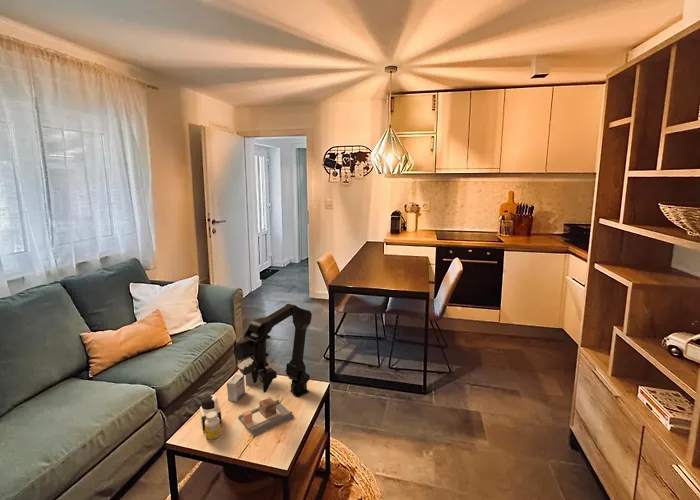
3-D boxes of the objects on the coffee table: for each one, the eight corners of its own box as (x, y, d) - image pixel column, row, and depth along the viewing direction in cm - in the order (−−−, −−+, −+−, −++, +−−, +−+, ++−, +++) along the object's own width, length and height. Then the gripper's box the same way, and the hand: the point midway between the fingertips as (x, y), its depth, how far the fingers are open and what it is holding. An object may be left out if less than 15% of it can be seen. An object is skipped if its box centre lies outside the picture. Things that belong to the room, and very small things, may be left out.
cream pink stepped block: (272, 407, 161) (272, 397, 160) (280, 415, 155) (280, 404, 154) (240, 420, 152) (239, 410, 151) (247, 429, 146) (247, 418, 145)
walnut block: (270, 408, 159) (270, 397, 158) (276, 413, 155) (276, 402, 154) (259, 412, 156) (259, 401, 155) (265, 418, 152) (264, 407, 151)
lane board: (277, 402, 166) (277, 397, 165) (293, 417, 155) (293, 412, 155) (238, 418, 155) (238, 413, 154) (253, 436, 144) (252, 431, 144)
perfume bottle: (251, 378, 186) (249, 344, 183) (264, 379, 185) (263, 344, 182) (246, 385, 180) (244, 350, 177) (259, 386, 179) (257, 351, 176)
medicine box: (236, 401, 166) (235, 384, 165) (227, 400, 167) (226, 382, 166) (245, 392, 174) (244, 375, 172) (236, 391, 175) (235, 374, 173)
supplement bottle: (205, 434, 145) (203, 411, 143) (220, 431, 147) (218, 408, 145) (206, 443, 140) (204, 420, 138) (221, 440, 142) (219, 416, 140)
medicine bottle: (203, 432, 146) (200, 404, 144) (200, 422, 152) (198, 395, 150) (222, 427, 149) (220, 399, 147) (219, 417, 156) (217, 390, 153)
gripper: (230, 348, 153) (231, 384, 156) (250, 365, 139) (251, 404, 141) (256, 342, 160) (256, 376, 163) (277, 357, 146) (277, 394, 148)
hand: (259, 387), depth 153 cm, fingers open, 9 cm apart
